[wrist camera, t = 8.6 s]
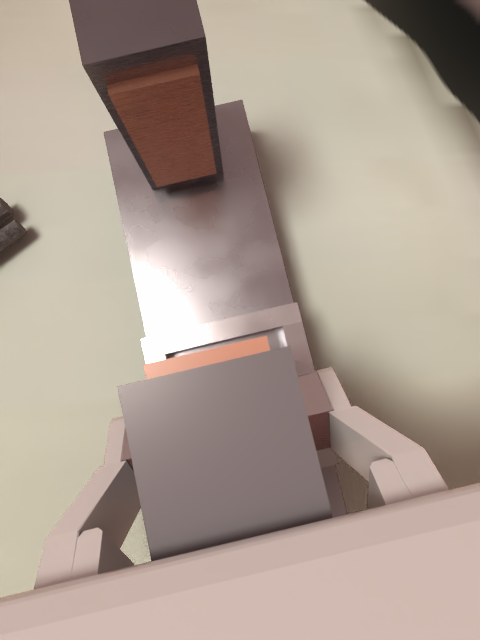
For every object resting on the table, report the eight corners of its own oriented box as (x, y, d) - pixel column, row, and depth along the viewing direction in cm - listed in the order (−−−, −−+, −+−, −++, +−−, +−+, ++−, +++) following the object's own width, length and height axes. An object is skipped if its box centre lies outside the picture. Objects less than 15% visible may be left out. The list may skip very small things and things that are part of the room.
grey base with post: (203, 546, 22) (150, 768, 10) (121, 159, 24) (0, -31, 13) (339, 514, 22) (447, 698, 10) (242, 131, 24) (237, -86, 13)
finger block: (202, 461, 17) (153, 571, 8) (182, 365, 18) (114, 368, 9) (289, 441, 17) (335, 527, 8) (266, 345, 18) (285, 328, 9)
